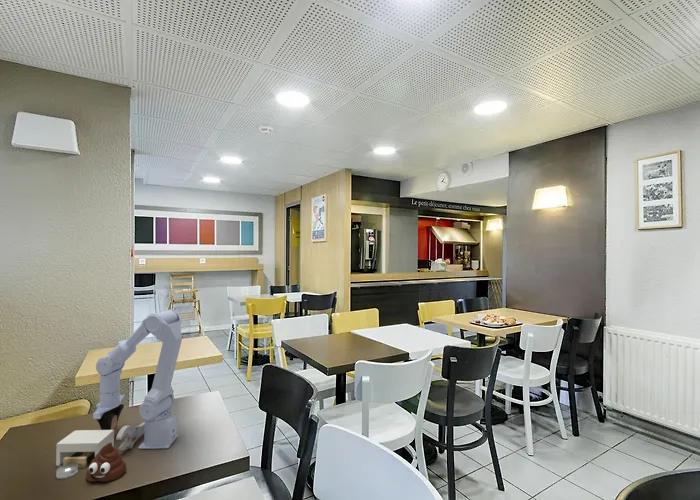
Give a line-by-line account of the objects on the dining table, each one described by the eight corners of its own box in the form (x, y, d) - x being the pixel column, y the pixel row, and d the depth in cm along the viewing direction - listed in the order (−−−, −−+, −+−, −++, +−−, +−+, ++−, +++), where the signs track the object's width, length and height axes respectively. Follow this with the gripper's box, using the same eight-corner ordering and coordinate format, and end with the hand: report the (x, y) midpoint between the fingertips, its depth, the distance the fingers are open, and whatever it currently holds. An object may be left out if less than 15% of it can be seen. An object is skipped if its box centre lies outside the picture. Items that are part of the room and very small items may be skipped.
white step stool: (113, 449, 116) (114, 429, 116) (98, 464, 108) (98, 443, 108) (74, 450, 116) (75, 430, 116) (56, 465, 108) (56, 443, 108)
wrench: (170, 422, 141) (119, 457, 112) (165, 422, 141) (113, 457, 112) (171, 401, 142) (122, 430, 113) (167, 401, 142) (116, 430, 113)
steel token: (82, 469, 107) (82, 462, 107) (70, 479, 102) (70, 472, 102) (64, 469, 106) (64, 462, 106) (51, 480, 101) (51, 473, 101)
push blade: (120, 434, 126) (121, 414, 126) (84, 468, 107) (84, 444, 107) (103, 435, 125) (103, 414, 125) (63, 468, 106) (63, 444, 106)
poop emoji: (132, 466, 108) (132, 435, 108) (114, 485, 100) (115, 451, 100) (98, 466, 108) (98, 435, 108) (77, 485, 99) (78, 451, 99)
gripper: (110, 382, 131) (109, 420, 131) (83, 399, 117) (82, 441, 117) (130, 382, 131) (130, 420, 132) (106, 399, 117) (105, 441, 117)
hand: (109, 430), depth 124 cm, fingers closed on push blade, 3 cm apart
